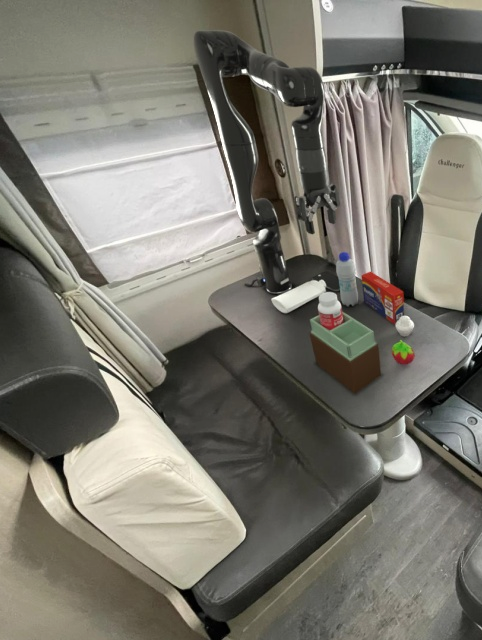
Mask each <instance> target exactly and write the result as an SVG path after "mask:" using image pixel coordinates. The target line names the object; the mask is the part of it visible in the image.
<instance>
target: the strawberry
mask: <svg viewBox="0 0 482 640" xmlns="http://www.w3.org/2000/svg"><path fill="white" fill-rule="evenodd" d="M391 355H392V358H393V360H394V361H395V362H396V363H397V364H399V365H402V366H403V365H404V366H407V365H409V364H411V363H412V362H413V361H414V359H415V352H414V350H413V348H412V347H411V346H410V345H409V344H407V343H406V342H405V341H404V342H403V340H401V339H400V340H399V342H396V343H394V344H393V345H392V348H391Z"/></svg>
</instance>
